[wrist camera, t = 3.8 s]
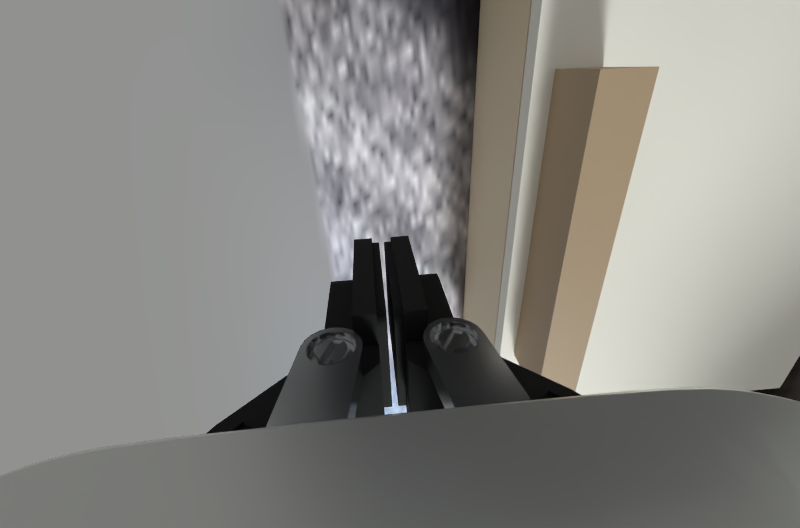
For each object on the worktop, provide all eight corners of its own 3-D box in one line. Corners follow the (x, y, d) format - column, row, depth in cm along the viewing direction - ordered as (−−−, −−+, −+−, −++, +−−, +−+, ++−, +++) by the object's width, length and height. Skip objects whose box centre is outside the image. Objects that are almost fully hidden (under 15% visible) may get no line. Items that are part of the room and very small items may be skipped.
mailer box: (825, -43, 17) (1034, -94, 12) (684, 314, 26) (764, 375, 21) (482, -35, 16) (539, -86, 11) (462, 332, 25) (487, 401, 20)
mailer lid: (1038, -95, 12) (1274, -153, 9) (765, 376, 21) (832, 428, 18) (541, -87, 11) (610, -148, 8) (488, 402, 20) (509, 461, 17)
